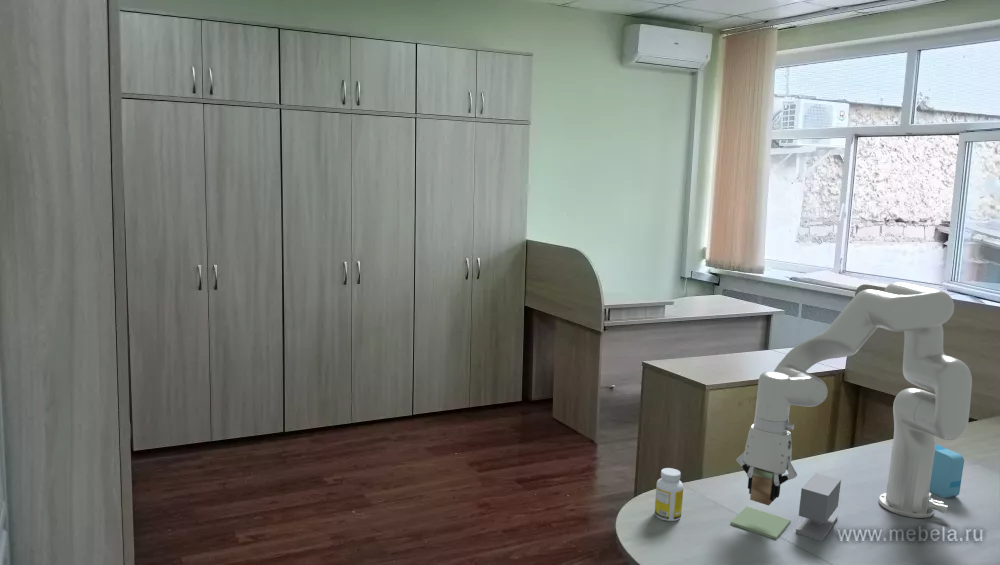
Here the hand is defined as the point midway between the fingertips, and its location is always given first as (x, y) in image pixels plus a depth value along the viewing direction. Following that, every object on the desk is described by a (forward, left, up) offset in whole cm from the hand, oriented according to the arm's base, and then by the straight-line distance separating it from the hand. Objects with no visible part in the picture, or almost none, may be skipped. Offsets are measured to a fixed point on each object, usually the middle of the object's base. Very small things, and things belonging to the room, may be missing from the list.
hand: (762, 494), depth 179 cm
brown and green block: (0, 0, -1) cm, 1 cm away
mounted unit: (-11, -8, -7) cm, 16 cm away
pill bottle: (+19, +12, -8) cm, 24 cm away
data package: (-30, -53, -8) cm, 62 cm away
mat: (0, 0, -7) cm, 7 cm away
